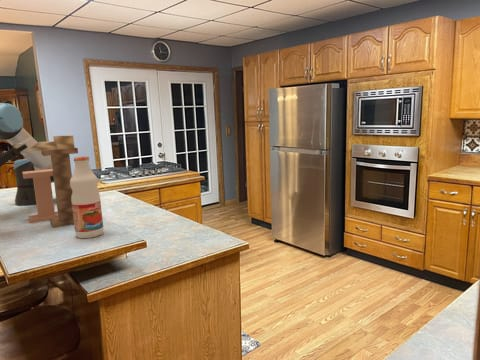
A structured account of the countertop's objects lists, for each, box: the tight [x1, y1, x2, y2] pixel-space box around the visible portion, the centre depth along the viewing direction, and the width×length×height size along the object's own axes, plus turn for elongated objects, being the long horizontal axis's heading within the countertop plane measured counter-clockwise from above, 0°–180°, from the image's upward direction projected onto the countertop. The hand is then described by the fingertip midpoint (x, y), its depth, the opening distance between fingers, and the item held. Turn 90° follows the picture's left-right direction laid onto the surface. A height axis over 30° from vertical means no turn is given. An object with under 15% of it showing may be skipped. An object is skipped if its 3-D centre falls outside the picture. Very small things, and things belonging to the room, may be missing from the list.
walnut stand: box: [41, 147, 79, 228], centre depth 145 cm, size 12×9×30 cm
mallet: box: [12, 134, 76, 152], centre depth 139 cm, size 20×7×5 cm, turn 126°
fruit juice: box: [70, 155, 104, 239], centre depth 128 cm, size 9×9×28 cm
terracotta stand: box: [22, 169, 59, 224], centre depth 153 cm, size 13×8×20 cm, turn 123°
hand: (33, 140), depth 137 cm, fingers open, 8 cm apart
